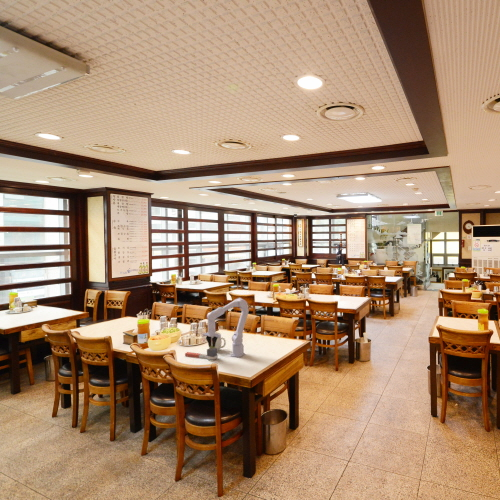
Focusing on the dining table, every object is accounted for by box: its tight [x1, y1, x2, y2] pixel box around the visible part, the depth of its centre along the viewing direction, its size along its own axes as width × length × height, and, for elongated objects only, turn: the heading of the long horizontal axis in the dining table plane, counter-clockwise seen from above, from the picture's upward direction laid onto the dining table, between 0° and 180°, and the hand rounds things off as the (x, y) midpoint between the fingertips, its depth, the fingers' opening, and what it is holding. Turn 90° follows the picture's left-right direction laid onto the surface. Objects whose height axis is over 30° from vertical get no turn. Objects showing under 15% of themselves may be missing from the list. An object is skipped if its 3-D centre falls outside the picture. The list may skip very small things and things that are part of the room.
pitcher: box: [205, 331, 227, 352], centre depth 281 cm, size 11×18×14 cm, turn 66°
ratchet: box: [184, 351, 218, 361], centre depth 264 cm, size 27×8×6 cm, turn 67°
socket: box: [206, 347, 218, 357], centre depth 261 cm, size 6×6×5 cm
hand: (212, 346), depth 261 cm, fingers open, 3 cm apart
